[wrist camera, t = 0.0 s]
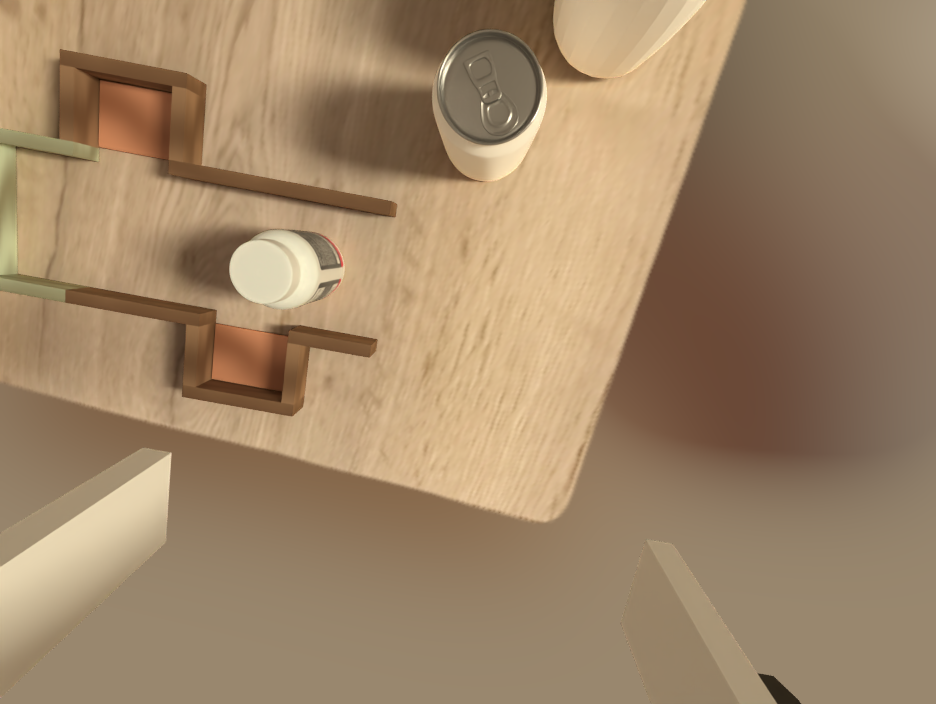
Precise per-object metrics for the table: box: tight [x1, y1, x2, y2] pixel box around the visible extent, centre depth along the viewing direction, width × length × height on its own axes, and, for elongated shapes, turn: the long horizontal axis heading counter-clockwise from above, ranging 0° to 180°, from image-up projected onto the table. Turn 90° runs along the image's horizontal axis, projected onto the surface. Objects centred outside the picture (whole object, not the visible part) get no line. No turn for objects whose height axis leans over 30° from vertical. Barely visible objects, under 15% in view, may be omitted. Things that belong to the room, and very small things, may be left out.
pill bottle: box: [229, 229, 345, 310], centre depth 35 cm, size 5×5×10 cm
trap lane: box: [0, 49, 397, 416], centre depth 38 cm, size 24×31×3 cm
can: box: [432, 29, 547, 181], centre depth 32 cm, size 6×6×12 cm
